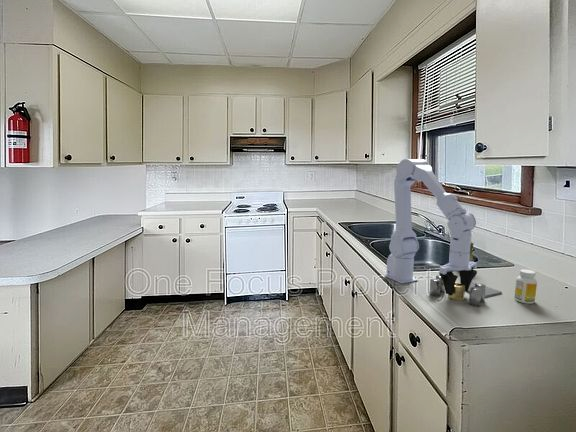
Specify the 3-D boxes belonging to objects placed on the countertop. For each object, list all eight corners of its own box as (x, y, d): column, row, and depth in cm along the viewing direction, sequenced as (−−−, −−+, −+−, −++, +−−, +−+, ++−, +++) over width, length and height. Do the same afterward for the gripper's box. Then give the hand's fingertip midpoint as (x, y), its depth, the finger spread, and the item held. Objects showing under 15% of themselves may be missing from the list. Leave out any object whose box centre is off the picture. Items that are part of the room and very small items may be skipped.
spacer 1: (427, 294, 116) (428, 279, 116) (434, 292, 118) (435, 278, 117) (434, 297, 114) (435, 282, 113) (441, 295, 115) (442, 280, 114)
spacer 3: (466, 303, 108) (467, 288, 108) (473, 302, 110) (474, 286, 109) (475, 307, 106) (476, 291, 105) (482, 305, 107) (483, 289, 106)
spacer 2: (433, 290, 120) (434, 275, 119) (439, 288, 121) (440, 274, 121) (440, 293, 117) (441, 278, 117) (446, 291, 119) (447, 277, 118)
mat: (452, 286, 124) (452, 284, 124) (469, 282, 128) (469, 280, 127) (483, 297, 113) (483, 296, 113) (501, 293, 117) (502, 291, 117)
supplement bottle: (512, 300, 111) (515, 271, 109) (516, 296, 115) (519, 267, 113) (533, 305, 107) (536, 275, 106) (536, 300, 111) (539, 271, 109)
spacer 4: (471, 299, 112) (472, 284, 111) (477, 297, 113) (479, 282, 113) (480, 302, 109) (481, 287, 109) (486, 301, 111) (487, 285, 110)
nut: (444, 295, 115) (445, 282, 114) (454, 293, 117) (455, 280, 116) (458, 301, 110) (459, 287, 110) (467, 299, 112) (469, 285, 111)
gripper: (454, 256, 105) (450, 300, 107) (486, 251, 111) (483, 293, 113) (435, 251, 111) (432, 292, 113) (467, 246, 117) (464, 286, 119)
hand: (456, 292), depth 113 cm, fingers open, 6 cm apart
